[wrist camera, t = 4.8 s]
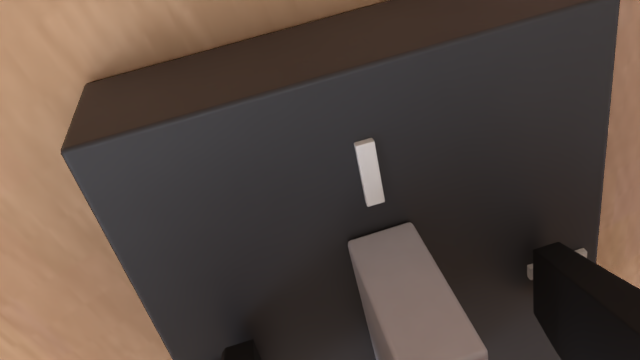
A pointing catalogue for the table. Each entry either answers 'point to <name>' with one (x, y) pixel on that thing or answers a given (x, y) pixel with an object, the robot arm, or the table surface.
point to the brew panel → (352, 169)
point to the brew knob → (410, 300)
